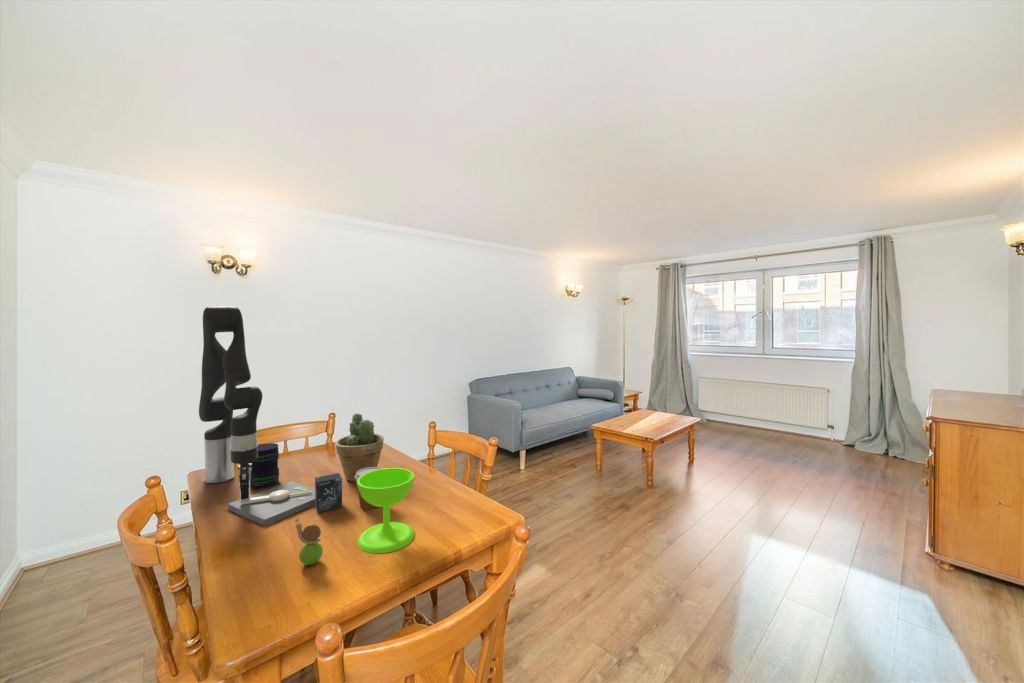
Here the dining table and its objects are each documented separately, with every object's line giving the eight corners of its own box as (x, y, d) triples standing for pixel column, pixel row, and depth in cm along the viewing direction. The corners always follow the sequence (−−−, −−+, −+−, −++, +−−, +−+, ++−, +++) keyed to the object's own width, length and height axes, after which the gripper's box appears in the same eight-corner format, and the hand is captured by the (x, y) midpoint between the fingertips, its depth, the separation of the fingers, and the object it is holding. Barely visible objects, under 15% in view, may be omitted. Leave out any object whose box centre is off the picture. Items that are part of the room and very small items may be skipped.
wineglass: (356, 530, 120) (355, 472, 119) (410, 520, 126) (409, 464, 125) (358, 558, 105) (357, 492, 104) (418, 545, 111) (418, 483, 111)
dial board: (227, 509, 132) (227, 503, 132) (291, 486, 152) (291, 480, 151) (264, 526, 122) (264, 519, 122) (328, 499, 141) (327, 492, 141)
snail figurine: (301, 557, 105) (300, 514, 105) (325, 556, 106) (325, 513, 105) (291, 570, 100) (290, 524, 99) (317, 569, 100) (317, 523, 100)
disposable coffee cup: (390, 502, 138) (389, 468, 138) (369, 514, 130) (369, 478, 129) (369, 497, 142) (369, 464, 142) (348, 508, 134) (348, 473, 133)
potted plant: (393, 474, 165) (392, 415, 164) (354, 489, 149) (354, 424, 148) (365, 465, 174) (364, 410, 173) (326, 479, 159) (325, 418, 158)
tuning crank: (311, 489, 143) (311, 468, 143) (310, 496, 138) (310, 473, 138) (241, 500, 135) (241, 477, 134) (237, 507, 129) (237, 483, 129)
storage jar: (282, 478, 160) (281, 442, 159) (275, 487, 150) (275, 449, 150) (253, 481, 157) (253, 444, 156) (245, 491, 147) (244, 451, 147)
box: (317, 513, 130) (316, 482, 130) (315, 507, 135) (314, 476, 134) (342, 507, 134) (342, 477, 134) (339, 501, 139) (339, 472, 139)
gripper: (231, 442, 135) (232, 490, 136) (229, 454, 123) (230, 508, 124) (257, 439, 139) (258, 486, 140) (257, 450, 127) (258, 502, 129)
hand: (245, 496), depth 132 cm, fingers closed on tuning crank, 3 cm apart
